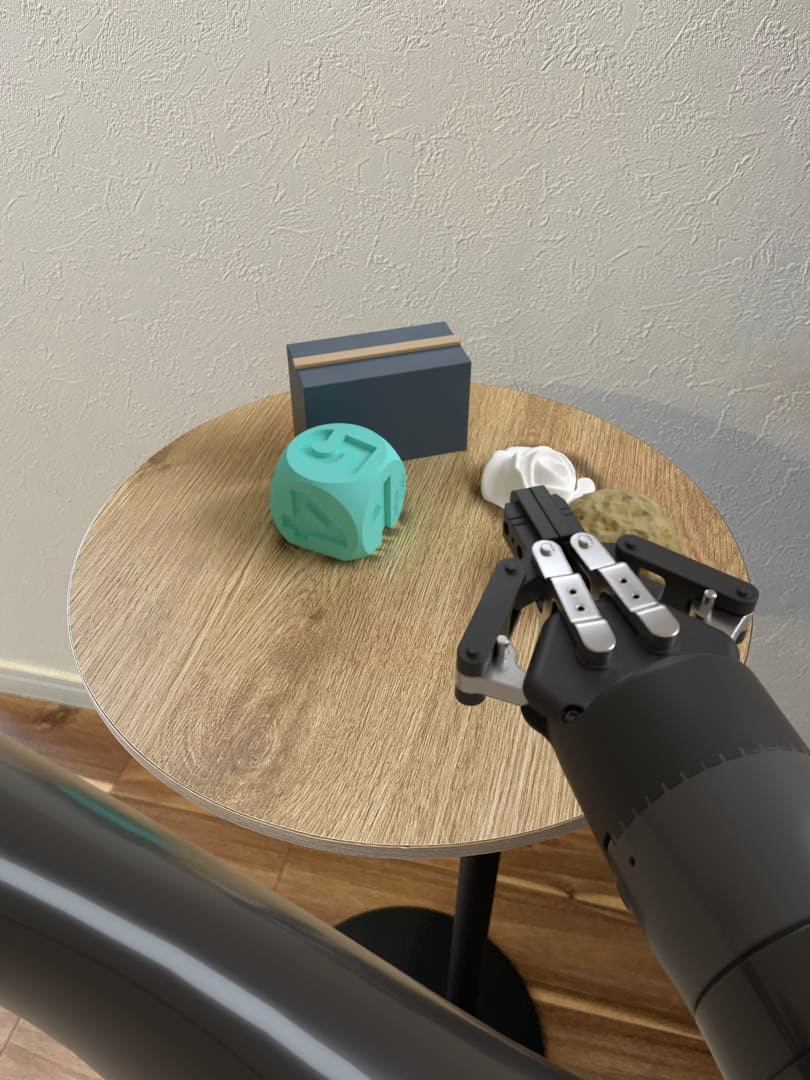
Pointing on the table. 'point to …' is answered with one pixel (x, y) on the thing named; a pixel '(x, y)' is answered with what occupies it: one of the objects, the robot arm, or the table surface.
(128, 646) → the table surface
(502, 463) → the rose
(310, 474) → the decorative dice
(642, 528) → the rock
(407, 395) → the box
